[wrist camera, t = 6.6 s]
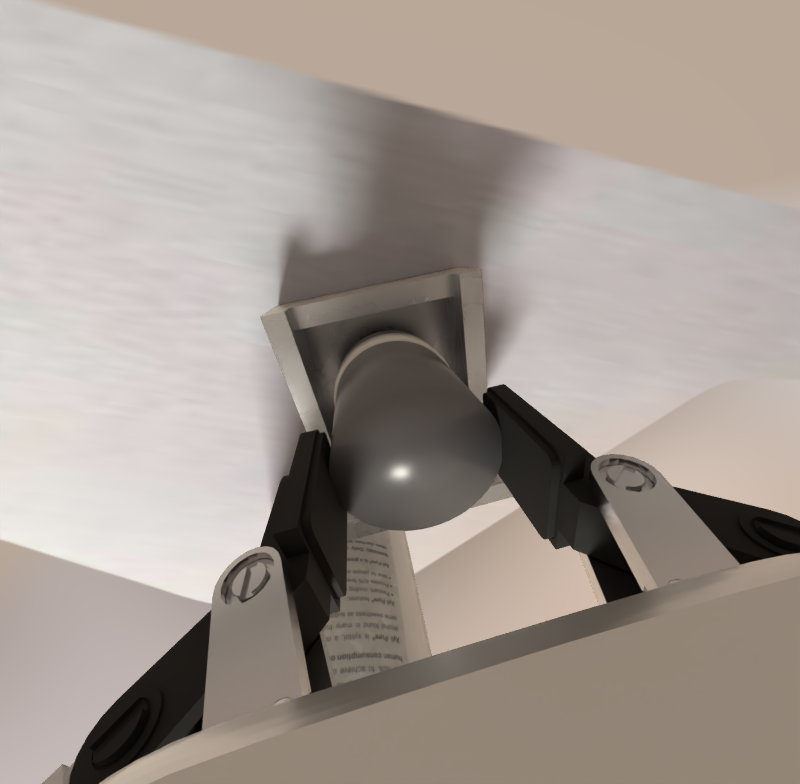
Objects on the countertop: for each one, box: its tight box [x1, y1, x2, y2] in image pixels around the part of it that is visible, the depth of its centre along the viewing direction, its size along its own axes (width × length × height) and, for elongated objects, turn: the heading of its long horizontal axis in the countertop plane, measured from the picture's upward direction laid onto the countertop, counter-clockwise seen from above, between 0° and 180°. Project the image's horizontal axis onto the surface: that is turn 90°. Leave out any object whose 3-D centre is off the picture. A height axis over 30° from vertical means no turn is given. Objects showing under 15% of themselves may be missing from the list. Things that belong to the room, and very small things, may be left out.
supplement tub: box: [323, 530, 432, 685], centre depth 15 cm, size 10×10×15 cm
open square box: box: [260, 268, 513, 541], centre depth 14 cm, size 10×10×7 cm
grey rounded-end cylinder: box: [329, 330, 502, 531], centre depth 12 cm, size 6×6×7 cm
